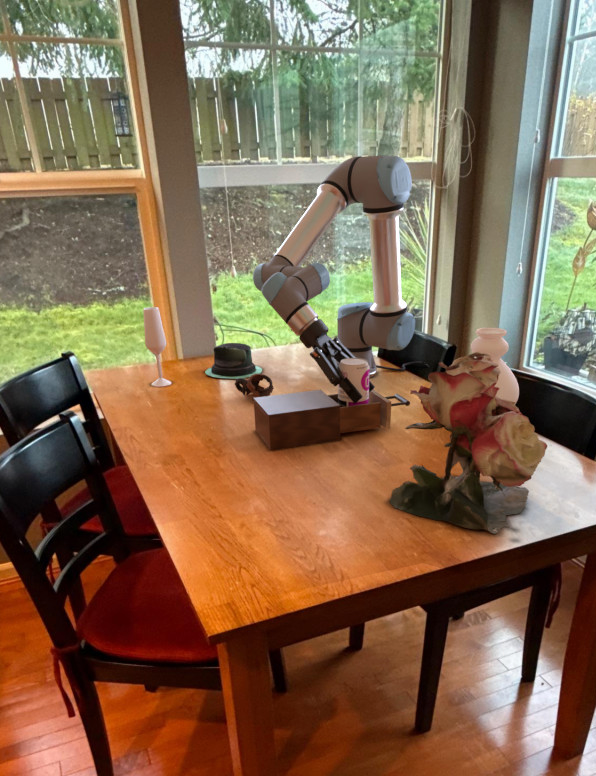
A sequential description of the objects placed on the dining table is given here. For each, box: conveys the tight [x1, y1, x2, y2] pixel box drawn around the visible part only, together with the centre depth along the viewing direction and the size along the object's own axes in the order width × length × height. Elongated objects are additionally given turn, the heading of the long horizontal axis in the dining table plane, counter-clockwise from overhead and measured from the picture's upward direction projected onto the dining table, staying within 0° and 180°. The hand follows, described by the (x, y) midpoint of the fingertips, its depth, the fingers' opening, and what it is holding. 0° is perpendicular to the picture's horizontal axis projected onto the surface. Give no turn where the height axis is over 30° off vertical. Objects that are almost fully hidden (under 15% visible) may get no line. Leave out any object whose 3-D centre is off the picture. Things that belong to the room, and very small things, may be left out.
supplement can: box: [337, 358, 370, 407], centre depth 165 cm, size 8×8×15 cm
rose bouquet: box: [388, 352, 548, 535], centre depth 125 cm, size 26×29×30 cm
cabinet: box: [252, 389, 341, 451], centre depth 164 cm, size 19×15×9 cm
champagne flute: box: [143, 306, 172, 387], centre depth 204 cm, size 7×7×24 cm
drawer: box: [327, 389, 411, 434], centre depth 169 cm, size 25×13×7 cm, turn 110°
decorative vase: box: [470, 327, 520, 405], centre depth 165 cm, size 18×18×25 cm
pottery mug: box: [234, 373, 275, 402], centre depth 193 cm, size 12×10×8 cm
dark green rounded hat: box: [204, 342, 263, 380], centre depth 220 cm, size 15×19×20 cm
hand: (365, 395), depth 165 cm, fingers closed on supplement can, 8 cm apart
